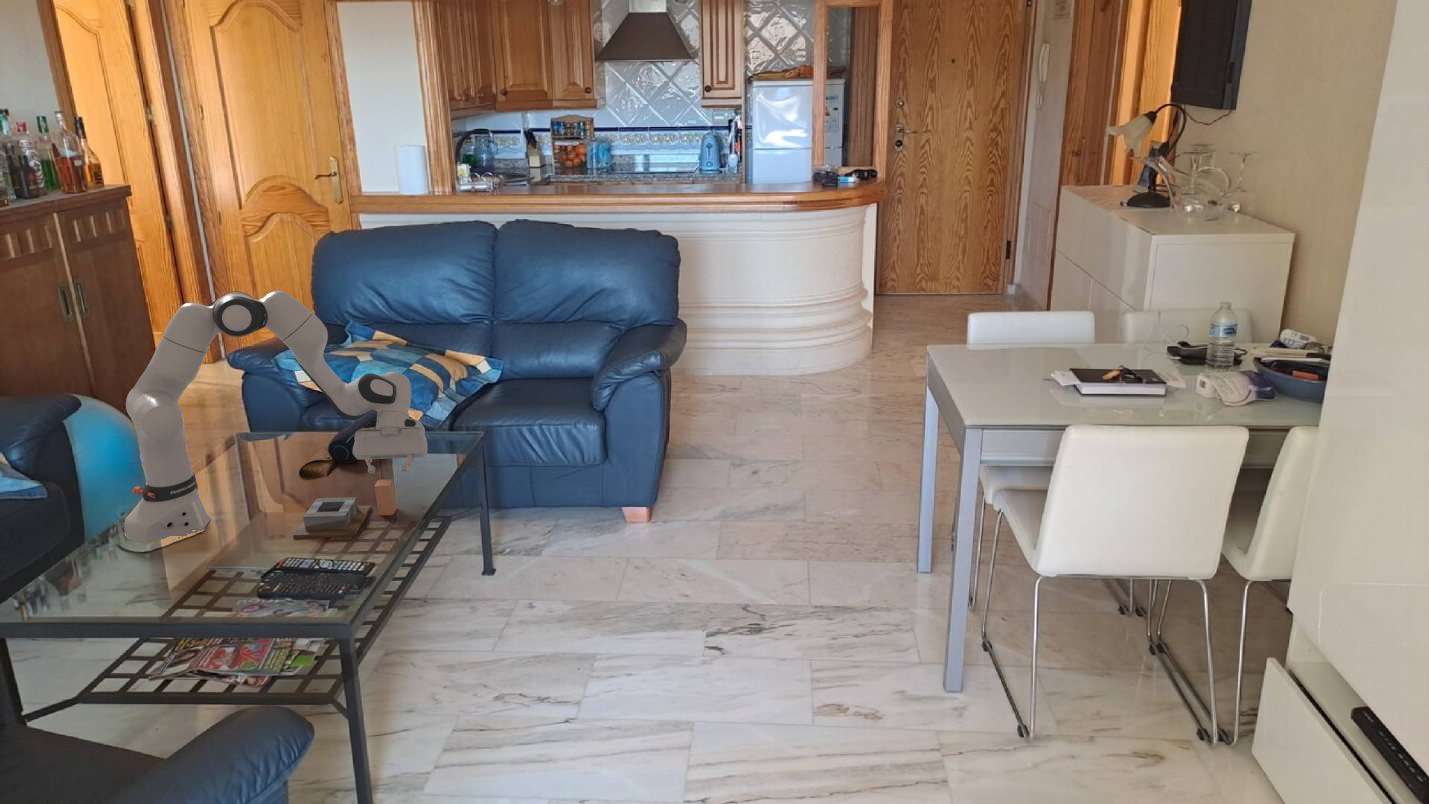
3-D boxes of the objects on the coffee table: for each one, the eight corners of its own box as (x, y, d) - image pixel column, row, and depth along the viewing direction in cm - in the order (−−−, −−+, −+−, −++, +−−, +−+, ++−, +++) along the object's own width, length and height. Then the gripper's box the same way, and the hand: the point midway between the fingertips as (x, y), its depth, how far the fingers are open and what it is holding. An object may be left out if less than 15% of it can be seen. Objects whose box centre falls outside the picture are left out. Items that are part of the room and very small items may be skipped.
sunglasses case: (327, 477, 294) (313, 460, 292) (309, 488, 295) (295, 471, 293) (347, 453, 310) (334, 437, 308) (330, 464, 312) (317, 447, 310)
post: (393, 514, 270) (389, 485, 267) (378, 515, 270) (374, 486, 267) (397, 508, 274) (392, 479, 271) (382, 508, 274) (378, 479, 270)
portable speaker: (356, 468, 300) (351, 438, 296) (327, 466, 302) (321, 436, 298) (396, 437, 323) (392, 409, 319) (368, 435, 325) (364, 407, 321)
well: (354, 536, 259) (351, 519, 257) (293, 538, 258) (290, 521, 256) (371, 508, 274) (368, 492, 272) (313, 510, 273) (310, 494, 271)
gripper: (352, 423, 276) (347, 469, 270) (425, 421, 277) (421, 466, 271) (358, 432, 281) (354, 477, 276) (430, 429, 282) (427, 474, 277)
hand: (388, 472), depth 273 cm, fingers open, 8 cm apart
